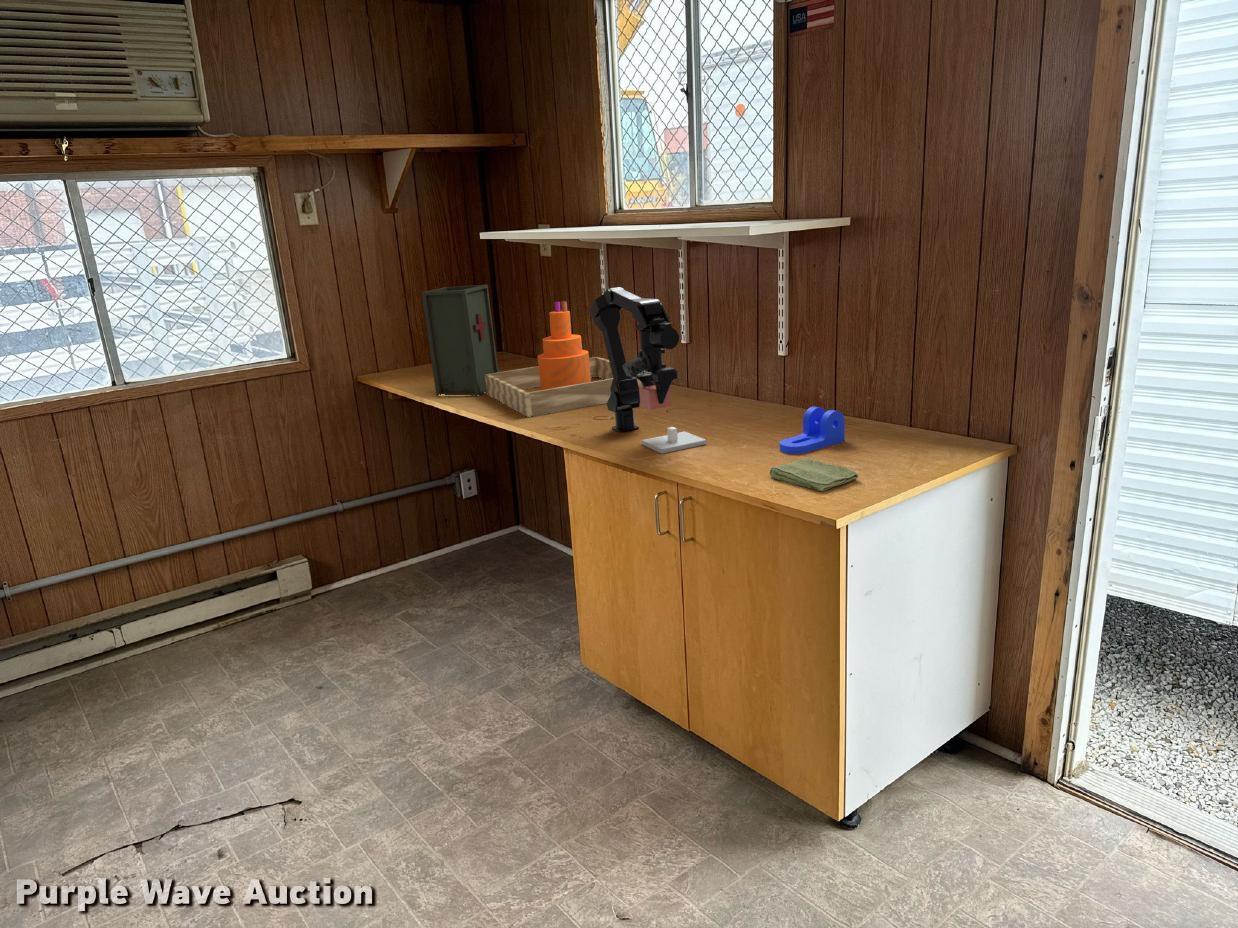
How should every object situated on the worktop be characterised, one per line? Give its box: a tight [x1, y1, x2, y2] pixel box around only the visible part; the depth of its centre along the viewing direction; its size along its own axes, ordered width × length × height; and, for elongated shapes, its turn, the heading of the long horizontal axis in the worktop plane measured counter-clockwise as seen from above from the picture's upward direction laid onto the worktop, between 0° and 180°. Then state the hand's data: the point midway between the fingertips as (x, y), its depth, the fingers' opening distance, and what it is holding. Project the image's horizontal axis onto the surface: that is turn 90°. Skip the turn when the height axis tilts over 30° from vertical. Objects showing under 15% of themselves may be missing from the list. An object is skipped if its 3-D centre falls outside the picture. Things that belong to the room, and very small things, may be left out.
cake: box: [537, 301, 592, 390], centre depth 304 cm, size 20×19×35 cm
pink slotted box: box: [639, 385, 672, 411], centre depth 235 cm, size 6×6×6 cm
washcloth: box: [769, 458, 859, 493], centre depth 196 cm, size 13×18×3 cm
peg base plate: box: [641, 426, 707, 455], centre depth 233 cm, size 12×14×5 cm
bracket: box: [778, 406, 846, 455], centre depth 221 cm, size 18×8×9 cm, turn 123°
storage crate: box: [485, 356, 643, 418], centre depth 308 cm, size 47×47×8 cm
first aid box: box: [421, 284, 499, 396], centre depth 325 cm, size 18×18×40 cm
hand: (655, 401), depth 235 cm, fingers closed on pink slotted box, 6 cm apart
